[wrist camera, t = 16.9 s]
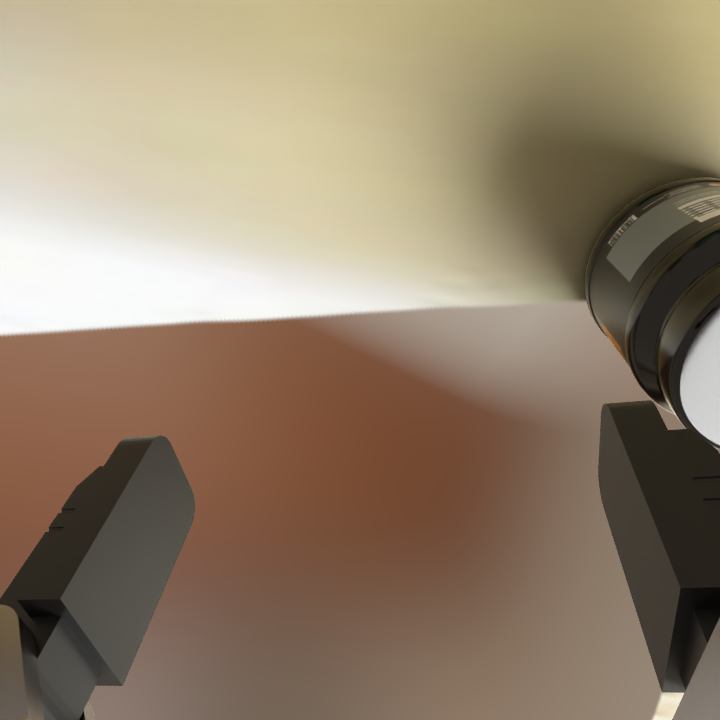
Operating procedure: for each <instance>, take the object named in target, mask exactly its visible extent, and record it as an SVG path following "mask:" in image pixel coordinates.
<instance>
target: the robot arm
mask: <svg viewBox="0 0 720 720" xmlns="http://www.w3.org/2000/svg"><path fill="white" fill-rule="evenodd" d="M600 427H601V428H600V446H599V465H598V477H599V487H600V494H601V499H602V503H603V507H604V510H605V513H606V517H607V520H608V523H609V526H610V529H611V532H612V536H613V539H614V542H615V545H616V548H617V551H618V555H619V558H620V561H621V564H622V567H623V570H624V573H625V577H626V580H627V583H628V586H629V589H630V593H631V596H632V599H633V602H634V605H635V608H636V612H637V615H638V618H639V621H640V624H641V627H642V630H643V634H644V637H645V640H646V643H647V646H648V649H649V653H650V656H651V659H652V662H653V665H654V669H655V672H656V675H657V678H658V681H659V684H660V688H661V691H662V692H683V693H684V695H683V698H682V700H681V702H680V704H679V706H678V708H677V711H676V713H675V715H674V717H673V719H672V720H720V454H719V452H718V450H717V449H716V448H714V447H713V446H712V445H710V444H709V443H708V442H707V441H705V440H704V439H703V438H701V437H700V436H699V435H698V434H696V433H695V432H694V431H693V430H691V429H682V430H681V429H680V430H667V427H666V425H665V423H664V422H663V419H662V418H661V415H660V413H659V412H658V410H657V408H656V406H655V404H654V403H653V402H652V401H635V402H622V403H609V404H604V405H603V407H602V411H601V426H600ZM194 512H195V501H194V495H193V492H192V489H191V487H190V485H189V483H188V480H187V478H186V476H185V474H184V472H183V469H182V467H181V465H180V463H179V461H178V459H177V456H176V454H175V452H174V450H173V447H172V445H171V443H170V442H169V440H168V439H167V438H166V437H164V436H150V437H137V438H126V439H123V440H122V441H121V442H120V443H119V444H118V445H117V447H116V448H115V450H114V452H113V453H112V454H111V456H110V457H109V459H108V461H107V462H106V464H105V465H104V466H100V467H98V468H97V469H96V470H95V471H94V472H93V473H92V474H90V475H89V476H88V477H87V478H86V479H85V480H84V481H82V482H81V483H80V484H79V485H78V486H77V487H76V488H75V490H74V491H73V493H72V494H71V495H70V497H69V499H68V500H67V502H66V503H65V504H64V506H63V507H62V512H61V513H59V514H58V515H57V516H56V518H55V519H54V520H53V522H52V523H51V525H50V526H49V532H45V534H44V535H43V537H42V538H41V540H40V541H39V543H38V544H37V545H36V547H35V548H34V550H33V551H32V553H31V554H30V556H29V557H28V559H27V560H26V562H25V563H24V565H23V566H22V568H21V569H20V570H19V572H18V573H17V575H16V576H15V578H14V579H13V581H12V582H11V584H10V585H9V587H8V588H7V590H6V591H5V593H4V594H3V595H2V597H1V599H0V720H95V717H94V713H93V709H92V707H91V706H90V704H89V703H88V700H89V698H90V696H91V693H92V691H93V689H94V687H95V685H103V686H104V685H109V686H112V685H113V686H122V685H123V683H124V681H125V679H126V677H127V674H128V672H129V670H130V667H131V665H132V663H133V660H134V658H135V656H136V653H137V651H138V649H139V646H140V644H141V642H142V639H143V637H144V635H145V632H146V630H147V628H148V625H149V623H150V621H151V618H152V616H153V613H154V611H155V609H156V607H157V604H158V602H159V600H160V597H161V595H162V593H163V590H164V588H165V586H166V583H167V581H168V578H169V576H170V574H171V571H172V569H173V567H174V564H175V562H176V560H177V557H178V555H179V553H180V550H181V548H182V546H183V544H184V541H185V539H186V537H187V534H188V532H189V529H190V527H191V525H192V522H193V518H194Z"/></svg>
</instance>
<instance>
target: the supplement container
mask: <svg viewBox="0 0 720 720" xmlns="http://www.w3.org/2000/svg"><path fill="white" fill-rule="evenodd" d="M585 294H586V300H587V304H588V307H589V310H590V312H591V315H592V317H593V319H594V320H595V322H596V324H597V325H598V327H599V328H600V329H601V331H602V332H603V333H604V334H605V335H606V336H607V337H608V338H609V339H610V341H611V342H612V343H613V345H614V346H615V348H616V349H617V350H618V352H619V353H620V355H621V356H622V357H623V359H624V360H625V361H626V363H627V364H628V366H629V367H630V369H631V372H632V374H633V376H634V378H635V380H636V381H637V383H638V384H639V386H640V387H641V388H642V390H643V391H644V392H645V393H646V395H647V396H648V397H650V399H651V400H653V401H654V402H655V403H656V404H658V405H659V406H660V407H662V408H663V409H665V410H667V411H668V412H670V413H673V414H674V415H676V416H677V418H678V419H679V420H680V422H681V423H682V424H683V426H684V427H685V428H686V429H691V430H693V431H694V432H695V433H696V434H698V435H699V436H700V437H701V438H703V439H704V440H705V441H707V442H708V443H709V444H710V445H712V446H713V447H714V448H716V449H718V450H720V179H719V178H706V177H699V178H688V179H683V180H677V181H674V182H670V183H667V184H664V185H661V186H659V187H656V188H654V189H652V190H650V191H648V192H646V193H644V194H643V195H641V196H639V197H637V198H636V199H635V200H633V201H632V202H630V203H629V204H628V205H626V206H625V207H624V208H623V209H622V210H621V211H619V212H618V213H617V214H616V216H615V217H614V218H613V219H612V220H611V221H610V222H609V223H608V224H607V226H606V227H605V228H604V230H603V231H602V233H601V234H600V236H599V237H598V239H597V241H596V243H595V245H594V247H593V249H592V251H591V254H590V257H589V260H588V263H587V268H586V275H585Z"/></svg>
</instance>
